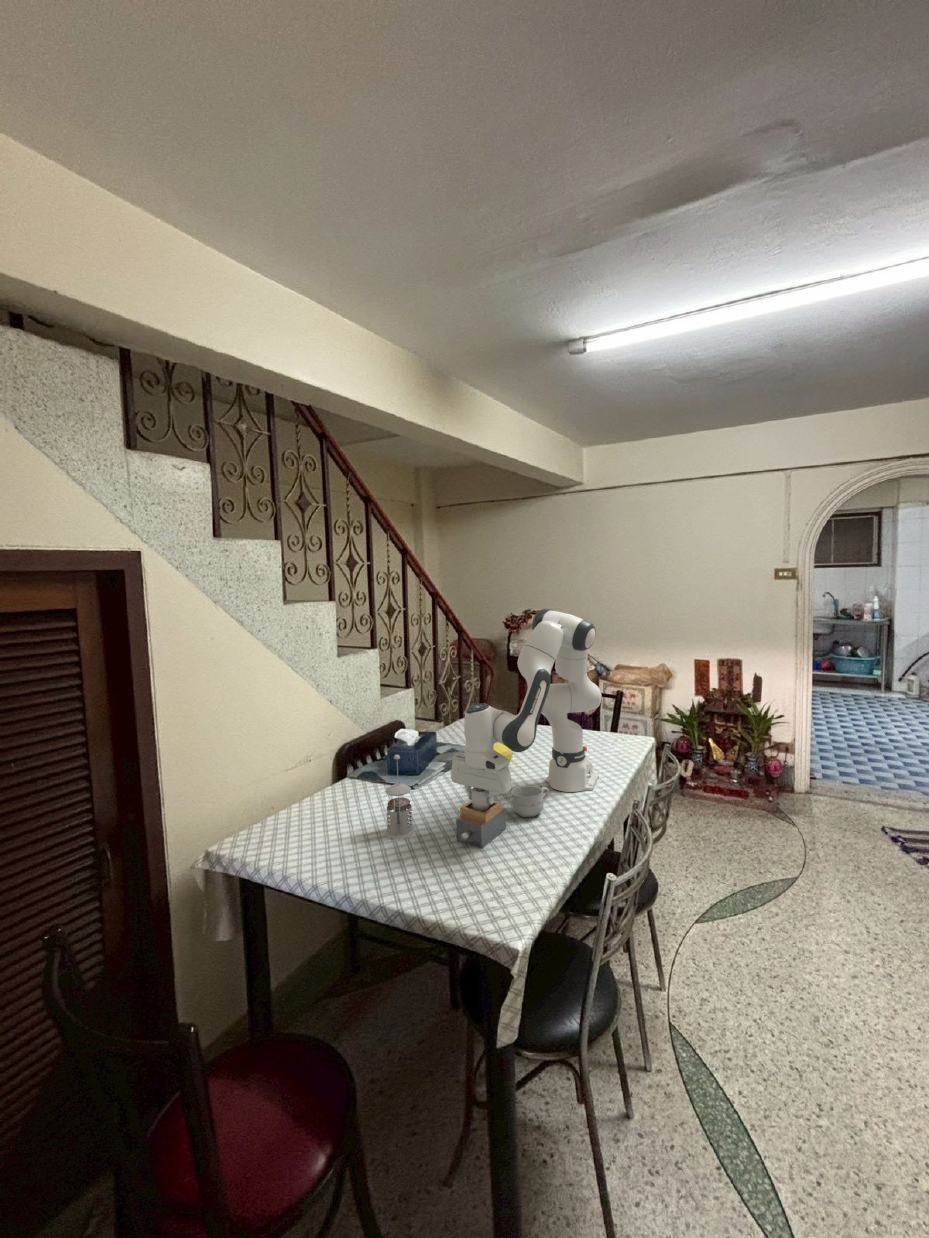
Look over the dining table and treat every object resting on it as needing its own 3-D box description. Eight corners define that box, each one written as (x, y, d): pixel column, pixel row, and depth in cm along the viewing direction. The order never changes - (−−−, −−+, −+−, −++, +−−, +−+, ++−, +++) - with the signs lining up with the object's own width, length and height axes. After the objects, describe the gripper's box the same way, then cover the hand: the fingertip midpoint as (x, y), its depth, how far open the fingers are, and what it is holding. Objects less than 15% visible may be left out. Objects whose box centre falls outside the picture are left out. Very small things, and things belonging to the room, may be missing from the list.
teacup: (518, 822, 175) (517, 798, 174) (507, 809, 185) (506, 786, 185) (558, 816, 179) (557, 792, 178) (544, 803, 189) (544, 781, 188)
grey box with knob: (481, 822, 176) (480, 794, 175) (506, 829, 170) (505, 800, 170) (450, 844, 162) (449, 814, 161) (476, 853, 156) (475, 821, 156)
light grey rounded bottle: (478, 803, 170) (477, 780, 170) (493, 807, 167) (492, 783, 167) (468, 810, 166) (467, 786, 165) (483, 813, 163) (482, 789, 162)
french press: (416, 823, 176) (413, 749, 174) (414, 841, 165) (411, 761, 163) (386, 825, 176) (382, 750, 174) (382, 842, 165) (378, 762, 163)
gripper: (446, 755, 169) (447, 797, 170) (502, 766, 157) (504, 812, 158) (457, 749, 174) (459, 790, 175) (513, 759, 162) (514, 804, 163)
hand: (481, 801), depth 166 cm, fingers closed on light grey rounded bottle, 5 cm apart
